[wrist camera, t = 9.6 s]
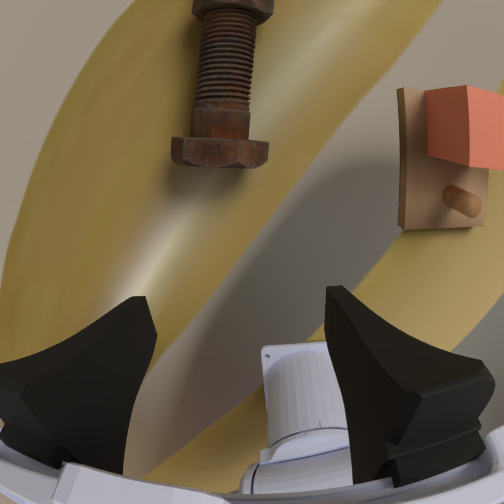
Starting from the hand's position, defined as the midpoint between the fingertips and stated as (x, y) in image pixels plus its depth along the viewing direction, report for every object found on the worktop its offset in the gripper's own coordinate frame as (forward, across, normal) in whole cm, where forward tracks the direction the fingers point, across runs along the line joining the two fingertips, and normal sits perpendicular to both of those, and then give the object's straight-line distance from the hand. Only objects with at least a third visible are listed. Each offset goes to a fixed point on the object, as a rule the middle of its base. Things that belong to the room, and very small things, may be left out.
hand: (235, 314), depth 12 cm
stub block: (+10, -15, -4) cm, 19 cm away
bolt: (+11, 0, -12) cm, 16 cm away
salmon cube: (+9, -15, -7) cm, 19 cm away
